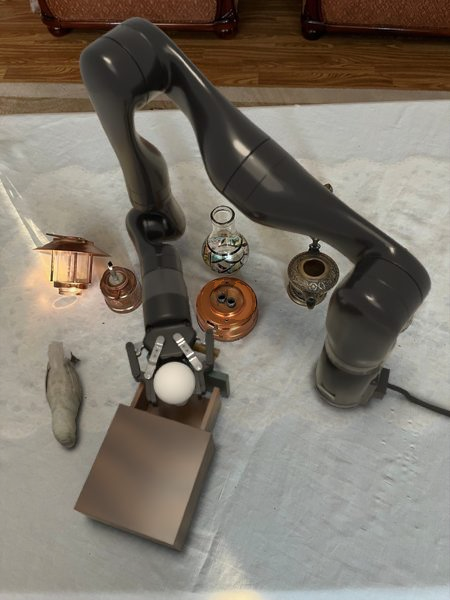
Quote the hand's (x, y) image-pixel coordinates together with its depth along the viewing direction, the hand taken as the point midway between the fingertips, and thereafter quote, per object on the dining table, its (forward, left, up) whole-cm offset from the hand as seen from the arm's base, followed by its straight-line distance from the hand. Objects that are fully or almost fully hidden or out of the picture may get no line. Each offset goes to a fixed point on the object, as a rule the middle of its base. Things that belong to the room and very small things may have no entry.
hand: (177, 401), depth 77 cm
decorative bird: (+20, +3, -11) cm, 23 cm away
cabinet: (+1, +10, -11) cm, 15 cm away
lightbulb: (+1, -2, -7) cm, 7 cm away
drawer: (+1, -2, -10) cm, 10 cm away
